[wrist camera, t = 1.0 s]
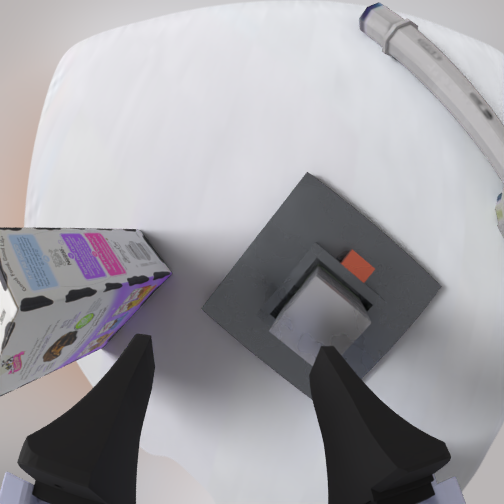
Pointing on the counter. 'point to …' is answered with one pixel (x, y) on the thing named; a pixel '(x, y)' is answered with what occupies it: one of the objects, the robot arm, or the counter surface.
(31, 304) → the candy box
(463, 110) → the grey elongated piece
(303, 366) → the stand
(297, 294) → the column
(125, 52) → the counter surface
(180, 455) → the counter surface
